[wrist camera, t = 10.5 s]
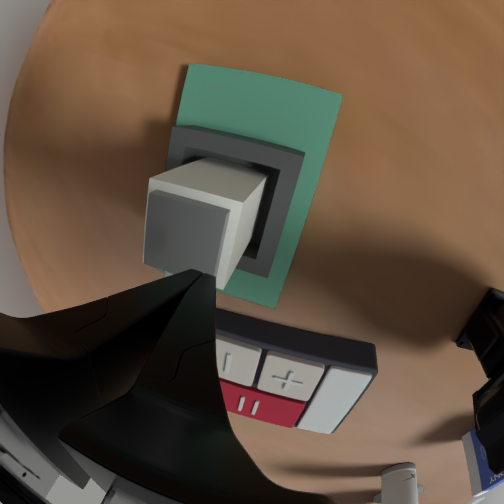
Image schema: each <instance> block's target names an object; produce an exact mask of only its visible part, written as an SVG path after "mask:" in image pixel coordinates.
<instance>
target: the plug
mask: <svg viewBox="0 0 504 504" xmlns="http://www.w3.org/2000/svg"><path fill="white" fill-rule="evenodd" d="M269 175H270V173H269V172H265V171H261V170H258V169H254V168H250V167H246V166H242V165H239V164H235V163H231V162H227V161H223V160H218V159H214V158H210V157H206V158H203V159H200V160H197V161H194V162H191V163H188V164H186V165H183V166H180V167H177V168H175V169H172V170H169V171H166V172H164V173H161V174H159V175H156V176H153V177H151V178H149V185H148V194H147V204H146V215H145V228H144V243H143V263H144V264H147V265H150V266H153V267H155V268H158V269H161V270H164V271H165V276H164V277H167V276H170V275H173V274H176V273H179V272H182V271H185V270H188V269H195V270H198V271H201V272H203V274H204V273H207V274H210V275H213V276H215V277H216V288H218V289H221V290H224V288H225V286H226V284H227V282H228V280H229V278H230V277H231V275H232V273H233V271H234V269H235V267H236V265H237V264H238V262H239V260H240V258H241V256H242V254H243V252H244V251H245V249H246V247H247V245H248V243H249V241H250V240H251V238H252V236H253V234H254V232H255V228H256V224H257V220H258V217H259V213H260V209H261V205H262V201H263V198H264V194H265V190H266V186H267V182H268V178H269Z"/></svg>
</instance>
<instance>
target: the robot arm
mask: <svg viewBox="0 0 504 504" xmlns="http://www.w3.org/2000/svg"><path fill="white" fill-rule="evenodd" d="M491 294H492V295H491ZM456 345H457V347H460V348H464V349H469V350H473V351H474V352H475V354H476V356H477V358H478V360H479V361H480V363H481V365H482V368H483V370H484V372H485V374H486V377H487V378H488V379H489V381H488V382H487V383H486V384H485V385H484V386H482V387H481V388H480V389H479V390H478V391H476V392H475V393H474V394H473V395H472V396H473V406H474V416H475V429H476V436H477V438H478V440H479V442H480V443H481V444H482V446H483V447H484V448H485V451H486V455H487V461H488V466H489V469H490V470H491V471H492V472H493V473H495V474H497V475H498V474H500V473H501V472H503V473H504V293H502V292H500V291H498V290H495V289H490V290H489V291H488V292H487V294H486V295H485V297H484V299H483V300H482V302H481V304H480V305H479V307H478V309H477V310H476V312H475V313H474V315H473V317H472V318H471V320H470V321H469V323H468V324H467V326H466V327H465V329H464V330H463V331H462V333H461V334H460V336H459V337H458V339H457V340H456ZM59 475H62V476H63V477H64V478H66V479H67V480H69V481H70V482H72V483H73V484H75V485H76V486H78V487H80V488H81V489H84V487H85V486H86V484H87V483H88V481H89V479H90V478H92V479H93V480H94V481H95V482H96V483H97V484H98V485H99V486H100V487H101V488H102V489H103V490H104V491H105V492H106V495H105V497H104V499H103V501H102V503H101V504H342V503H341V502H340V501H339V500H337V499H335V498H333V497H331V496H327V495H323V494H316V493H309V492H302V491H295V490H291V489H287V488H284V487H282V486H280V485H277V484H275V483H274V482H272V481H271V480H269V479H268V478H267V477H266V476H265V475H264V474H263V473H262V471H261V470H260V469H259V467H258V466H257V465H256V464H255V462H254V461H253V460H252V458H251V457H250V456H249V454H248V453H247V451H246V450H245V449H244V447H243V446H242V445H241V443H240V442H239V440H238V439H237V438H236V436H235V434H234V432H233V430H232V427H231V424H230V421H229V418H228V414H227V410H226V406H225V402H224V397H223V393H222V389H221V384H220V380H219V374H218V368H217V356H216V277H215V276H213V275H210V274H207V273H204V274H203V272H201V271H198V270H195V269H188V270H185V271H182V272H179V273H176V274H173V275H170V276H167V277H164V278H161V279H158V280H155V281H152V282H149V283H147V284H144V285H141V286H138V287H135V288H132V289H129V290H126V291H123V292H120V293H117V294H114V295H111V296H108V299H107V297H105V298H102V299H99V300H96V301H93V302H89V303H86V304H83V305H79V306H75V307H72V308H68V309H64V310H59V311H55V312H51V313H47V314H42V315H38V316H34V317H28V318H16V317H11V316H8V315H5V314H3V313H0V502H1V503H2V504H51V503H50V502H49V501H48V500H46V499H45V498H46V496H47V494H48V493H49V491H50V489H51V488H52V486H53V485H54V483H55V482H56V480H57V478H58V477H59Z"/></svg>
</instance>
